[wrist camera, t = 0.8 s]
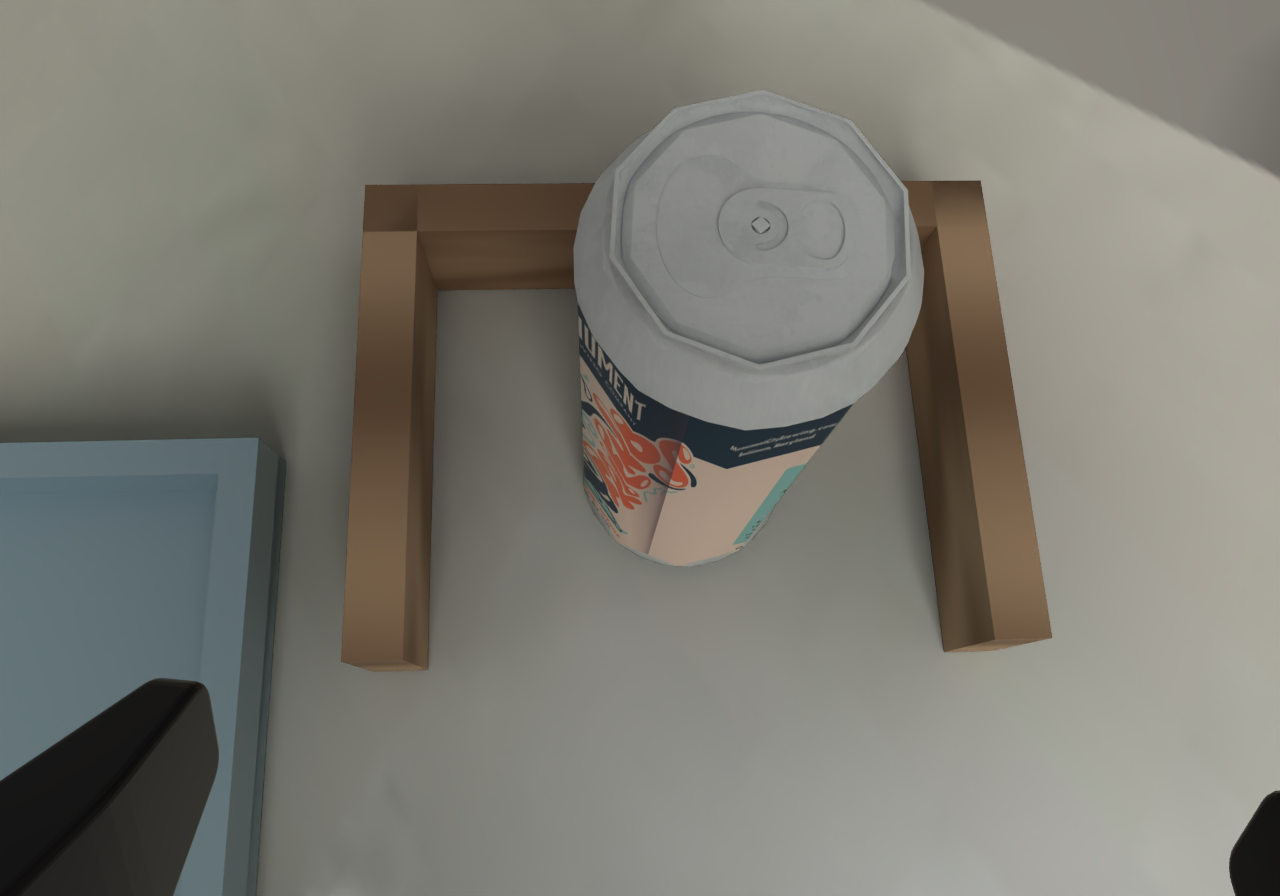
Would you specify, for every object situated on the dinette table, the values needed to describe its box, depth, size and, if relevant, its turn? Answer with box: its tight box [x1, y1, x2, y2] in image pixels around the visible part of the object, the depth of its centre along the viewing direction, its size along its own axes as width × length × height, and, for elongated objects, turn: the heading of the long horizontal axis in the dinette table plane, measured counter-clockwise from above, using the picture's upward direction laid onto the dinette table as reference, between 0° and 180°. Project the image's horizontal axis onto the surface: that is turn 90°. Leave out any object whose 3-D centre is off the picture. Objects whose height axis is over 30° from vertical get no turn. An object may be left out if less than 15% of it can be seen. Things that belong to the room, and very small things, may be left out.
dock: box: [341, 181, 1052, 672], centre depth 22 cm, size 11×14×3 cm
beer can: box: [573, 90, 924, 566], centre depth 18 cm, size 5×5×12 cm
